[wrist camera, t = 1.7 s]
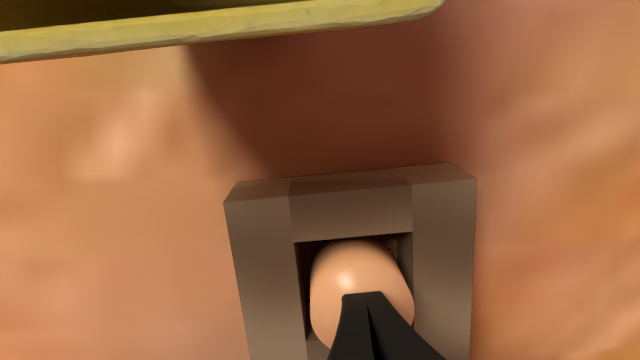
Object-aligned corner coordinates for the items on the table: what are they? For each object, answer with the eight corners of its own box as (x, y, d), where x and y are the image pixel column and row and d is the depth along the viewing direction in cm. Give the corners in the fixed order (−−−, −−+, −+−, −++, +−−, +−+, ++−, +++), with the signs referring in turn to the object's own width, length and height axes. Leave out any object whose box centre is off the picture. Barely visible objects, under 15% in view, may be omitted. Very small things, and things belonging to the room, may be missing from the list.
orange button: (398, 307, 15) (414, 351, 13) (314, 316, 15) (315, 361, 13) (395, 230, 14) (413, 262, 12) (305, 239, 14) (305, 272, 12)
